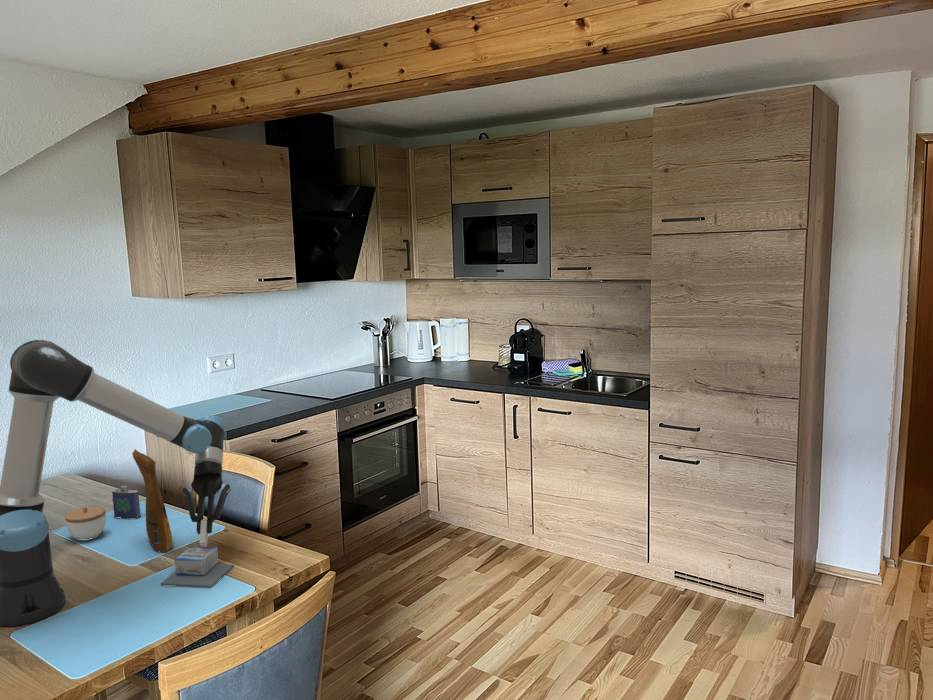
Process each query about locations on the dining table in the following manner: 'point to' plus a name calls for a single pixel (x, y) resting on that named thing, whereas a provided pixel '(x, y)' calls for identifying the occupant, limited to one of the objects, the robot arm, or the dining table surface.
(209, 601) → the dining table surface
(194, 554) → the medicine box
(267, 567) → the dining table surface
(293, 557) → the dining table surface
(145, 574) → the dining table surface
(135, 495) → the flask
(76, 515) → the lidded jar
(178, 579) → the mat
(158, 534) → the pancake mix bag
